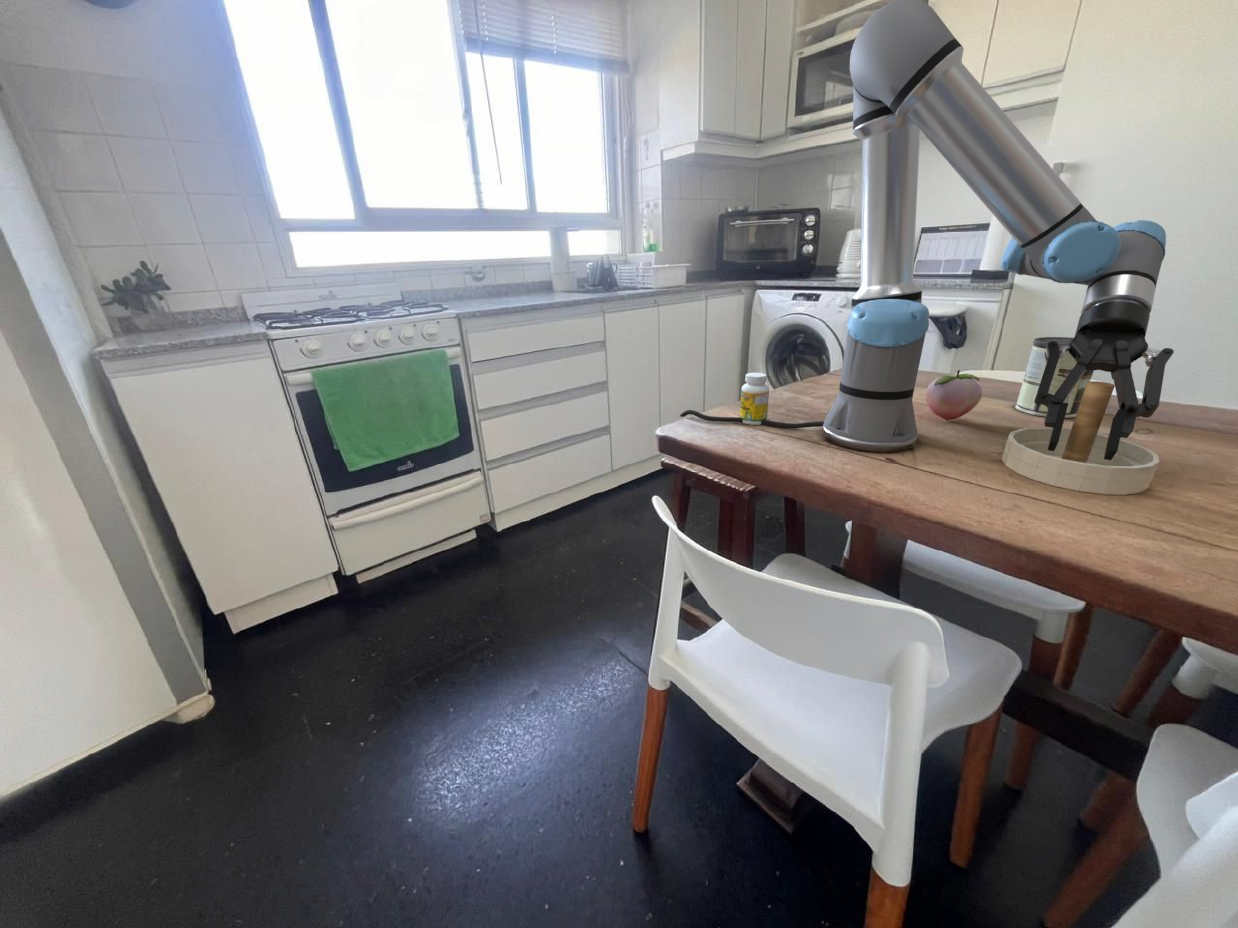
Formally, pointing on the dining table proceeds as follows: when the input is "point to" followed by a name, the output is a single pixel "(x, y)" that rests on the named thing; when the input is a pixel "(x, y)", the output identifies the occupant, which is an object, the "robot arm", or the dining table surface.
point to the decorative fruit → (953, 395)
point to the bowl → (1080, 463)
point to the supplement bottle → (754, 399)
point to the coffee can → (1060, 374)
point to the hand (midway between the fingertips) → (1080, 450)
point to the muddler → (1087, 421)
